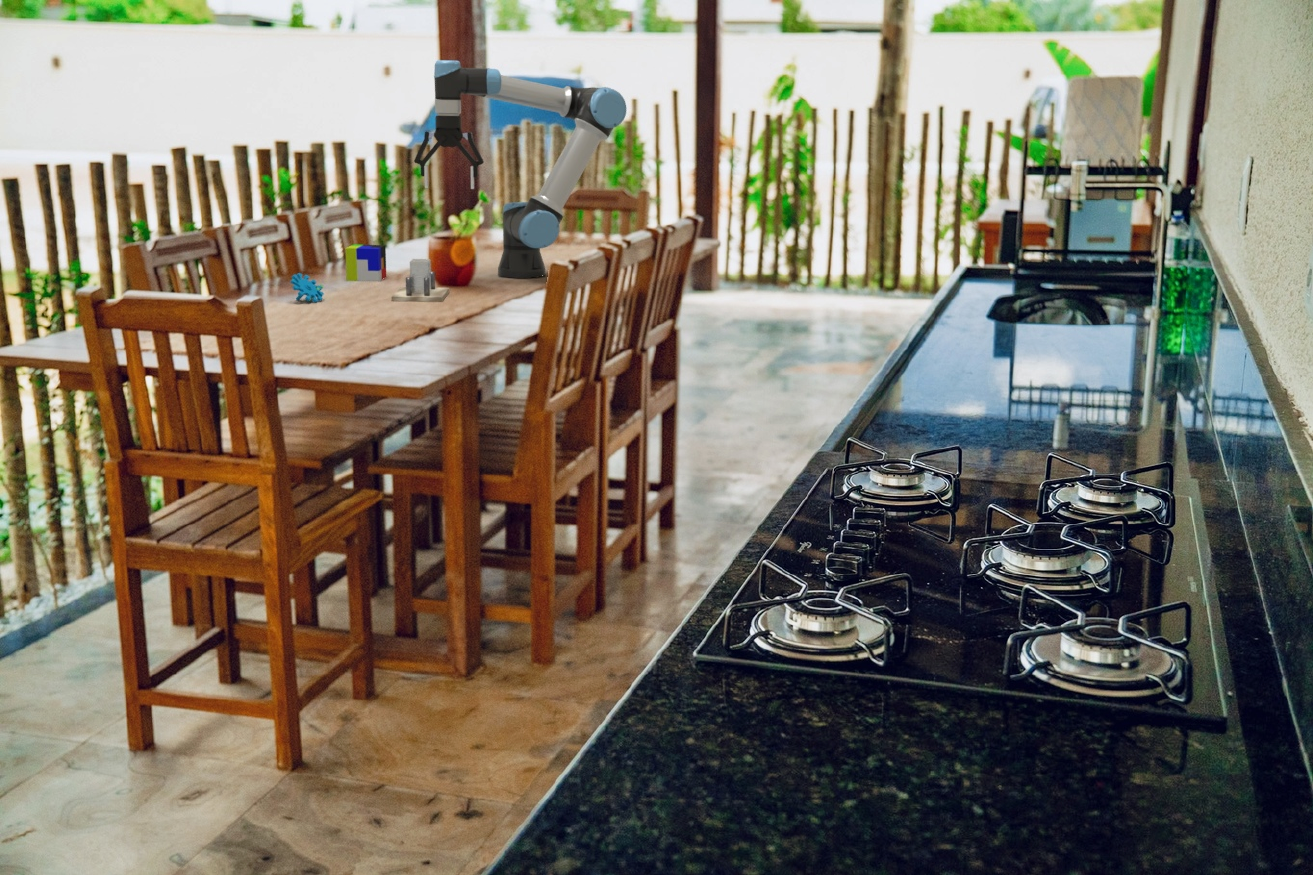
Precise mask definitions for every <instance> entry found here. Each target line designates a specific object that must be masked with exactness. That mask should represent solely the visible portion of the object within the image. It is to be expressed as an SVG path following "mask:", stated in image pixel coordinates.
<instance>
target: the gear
mask: <svg viewBox="0 0 1313 875" xmlns="http://www.w3.org/2000/svg"><path fill="white" fill-rule="evenodd" d="M291 278H292V279H290V284H292V285H293V286H292V289H293V291H298V292H297V296H296V298H295V299H296V301H298V302H299V301H300V300H301V299H302V298H303V296H305V298H304V300H305V301H307V302H310V301H311V302H313V303H314V304H315V303H317V302H321V301H322V300H323V299H324V298H323V296H324V294H325V293H324V292H323V291H322V289H323V288H324V285H323V284H319V285H316V284H317V281H316V279H311V280H309V279H310V276H309V275H308V274H305V275H304V276H303V274H302V273H301V272H297V274H293V275H292V276H291Z"/></svg>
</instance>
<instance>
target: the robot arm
mask: <svg viewBox="0 0 1313 875" xmlns="http://www.w3.org/2000/svg"><path fill="white" fill-rule="evenodd" d="M433 78H434V95H435V96H434V111H435V112H434V113H435V114H437V115H435V117H434V119H435V129H434V130H435V131H434V132H431V131H429V130H427V131H424V138H423V140H422V143H421V145H420V147H419V150H418V151H417V154H416V156H415V158H414V161H413V162H414V163H415V164H418V165H420V176H421V177H424V189H428V188H429V165H427V164H426V163H427V162H428V161H429V160H430V159H431V157H433V155H434V154H435V153H436V152H437V151H438V149H439V148H440V147H441V148H448V147H449V148H456V147H457V148H458V149H459V150H460V151H461V153H462V154H463V155H464V156H465V157H466V158H467V160H468V161H469V163H470V164H471V166H470V189H471V190H475V178H478V175H479V169H478V168H479V166H481V165H483V164H484V161H485V160H484V159H483V157H482V154H481V153H480V151H479V149H478V147H477V145H476V142H475V141H474V136H473V132H472V131H469V132H464V133H463V131H462V116H460V114H462V95H472V96H476V97H481V98H485V99H491V100H497V101H501V102H507V103H511V104H515V105H520V106H525V107H530V108H534V109H540V110H544V111H549V112H554V113H558V114H559V115H560V117H562V118H566V119H570V120H572V121H573V120H574V124H575V128H574V129H573V132H572V133H571V135H570V137H569V139H568V141H567V142H566V144H565V145H564V148H563V150H562V151H561V152H560V153H561V154H560V155H559V156H558V158H557V160H556V161H555V163H554V166H553V167H552V169H551V171H550V172H549V174H548V176H547V178H546V180H545V181H544V184H543V185H542V187H541V189H540V190H539V192H538V193H537V194H536V195H533V196H530V198H529V199H528V201H520V202H507V203H504V205H503V207H502V213H501V214H502V238H503V239H502V240H503V241H502V245H503V246H502V247H503V248H502V249H503V251H502V254H501V257H500V261H499V264H498V267H497V268H498V269H497V275H498V276H500V277H503V278H511V279H512V278H513V279H532V278H531V277H536V278H540V277H539V276H542V275H543V276H542V277H545V276H546V266H545V263H544V259H543V256H542V253H541V249H544V248H548V247H549V246H551V245H552V244H554V243H555V241H556V240H557V238H558V237H559V234H560V229H561V228H560V224H561V222H562V220H563V218H564V211H563V208H564V207H565V204H566V203H567V201H568V200H569V197H571V194H572V192H573V190H574V189H575V188H576V185H577V183H578V182H579V180H580V178H581V176H582V174H583V173H584V171H585V169H586V167H587V166H588V164H589V162H590V161H591V159H592V157H593V154H594V153H595V151H596V150H597V148H598V146H599V144H600V142H602V141H605V140H608V138H609V136H610V135H611V133H612V131H613V130H614V128H617V127H618V126H619V125H621V124H622V122H624V120H625V118H626V115H627V104H626V100H625V98H624V97H623V95H622V94H621V92H619V91H618V90H615V89H613V88H611V87H608V86H607V87H606V86H604V87H575V86H570V85H566V86H565V87H558V86H554V85H549V84H544V83H539V82H535V81H531V80H527V79H526V80H525V79H520V78H516V77H511V76H507V75H501V72H500V70H499V69H496V68H490V67H487V68H486V67H481V68H480V67H475V68H474V67H471V68H470V67H462V65H461V62H460V61H459V60H451V59H450V60H445V59H444V60H442V59H439V60H436V61H435V63H434V75H433ZM433 137H434V139H435V140H436V141H437V142H435V144H434V145H433V147H431V149H430V150H429V151H428V152H427V154H426V155H425V156H424V157H423V159H422V156H423V154H424V152H425V150H426V148H427V146H428V143H429V141H430V140H431V139H433ZM463 138H465V140H466V141H468V144H469V145H470V147H471V150H472V151H473V153H474V155H475V157H476V159H475V158H474V157H473V155H472V154H471V153H470V152H469V151H468V149H466V147H465V146H464V145H463V143H462V142H461V141H462V139H463ZM544 275H545V276H544Z"/></svg>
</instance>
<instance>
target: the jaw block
mask: <svg viewBox="0 0 1313 875" xmlns="http://www.w3.org/2000/svg"><path fill="white" fill-rule="evenodd" d="M431 262H432V261H431V258H412V259H411V260H410V261H409V277H411V278H412V294H424V278H429V279H430V291H431V271H432V270H431V269H432V264H431Z"/></svg>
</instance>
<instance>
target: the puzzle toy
mask: <svg viewBox="0 0 1313 875" xmlns="http://www.w3.org/2000/svg"><path fill="white" fill-rule="evenodd" d="M386 248H387V247H386V245H384V244H383V245H382V244H355V243H354V244H351V245H350V246H347V247H346V248H344V249H345V251H344V252H345V269H346V270H345V272H346V275H345V276H346V282H372V281H378V282H379V281H380V282H381V281H383V280H384V279H386V278H387V257H386V256H387V253H386V252H387V249H386ZM383 278H384V279H383ZM382 279H383V280H382Z"/></svg>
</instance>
